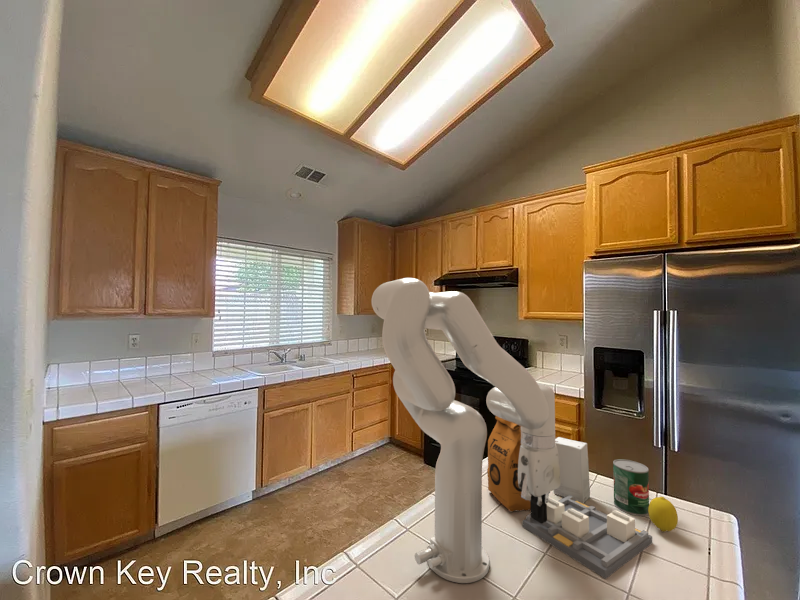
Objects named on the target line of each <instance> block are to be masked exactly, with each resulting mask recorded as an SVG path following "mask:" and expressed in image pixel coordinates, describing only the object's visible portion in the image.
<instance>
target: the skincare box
mask: <svg viewBox="0 0 800 600" xmlns="http://www.w3.org/2000/svg"><path fill="white" fill-rule="evenodd" d="M555 444H556V446H557V450H558V455H559V464H560V480H561V482H560V486H559V487H558V488H557V489H555V490H553V494H555V495H557V496H559V497H563V498H565V497H567V496H569V495H570V496H572V497H573V499H575V500H577V501H579V502H581V503H583V504H585V502H586V501H588V500H589V499H590V497H591V491H590V490H591V487H590V486H591V484H590V472H589V471H590V469H589V467H590V466H589V454H588V453H589V452H588V450H589V449H588V443H587V442H583V441H577V440H572V439H568V438H565V437H561V436H558V437H555Z"/></svg>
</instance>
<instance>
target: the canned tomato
mask: <svg viewBox="0 0 800 600" xmlns="http://www.w3.org/2000/svg"><path fill="white" fill-rule="evenodd" d="M612 462H613V463H612V464H613V465H612V466H613V467H612V469H613V505H614V506H615V507H616V508H617V509H618V510H620V511H621V512H623V513H624V512H625V513H627V514H629V515H633V516H639V517H643V516H644V517H645V516H649V512H648V508H649V504H650V488H649V487H650V486H649V485H650V478H649V477H650V476H649V467H647V466H646V465H645V464H643V463H640V462H637V461H635V460H634V461H633V460H630V459H621V458H620V459H614V460H613V461H612Z"/></svg>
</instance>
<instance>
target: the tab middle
mask: <svg viewBox="0 0 800 600" xmlns="http://www.w3.org/2000/svg"><path fill="white" fill-rule="evenodd" d="M562 529H564V530H566V531H568V532H570V533H571V534H573V535H575V536H577V537H578V538H582V537H583V536H585V535H587V534H588V533H589V516H587V515H585V514H583V513H581V512H579V511H577V510H575V509H573V508H571V509H570V508H569V509H567V511H565V512H563V513H562Z"/></svg>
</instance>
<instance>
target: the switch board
mask: <svg viewBox="0 0 800 600" xmlns="http://www.w3.org/2000/svg"><path fill="white" fill-rule="evenodd" d="M557 501H558V502H560V503H562V504H564V505H565V511H567V509H569V508H570V509H571V508H573V509H575V510H577V511H579V512H581V513H583V514H585V515H587V516H589V533H588V534H587V535H585V536H583V537H582V538H578V537H577V536H575V535H573V534H571V533H570V532H568V531H566V530H564V529H562V521H561V522H559V523H557V524H554V523H552V522H550V521H548V520H547V521H546V522H544V523H542V524H541V523H539V522H538V521H536V520H534V519H533V518H531V513H529V514H527V515H526V516H525V517H526V518H525V519H522V528H523V529H526V530H527V531H528V532H530V533H532V534H533V535H535V536H536V537H538V538H540V539H541V540H543V541H545V542H546V543H548V544H550V546H552V547H554V548H556V549H557V550H559V551H560V552H562V553H564V554H565V555H567V556H568V557H570V558H572V559H573V560H574V561H576V562H578V563H579V564H581V565H583V566H585V567H586V568H588V569H589V570H590V571H593V572H594V573H596V574H597V575H599V576H600V577H602V578H604V579H605V580H606V579H608V577H610V576H611V575H613V574H614V573H616V571H618V570H619V569H620V568H622V567H623V566H624V565H626V564H627V563H628V562H629V561H631V560H632V559H633V558H635V557H636V556H637V555H639V554H640V553H642V552H643V551H644V550H645V549H647V548H648V547H649V546H650V545H652V544H653V536H652V535H650V533H649V531H647V530H645V529H642V530H639V529H638V528H636V527H635V536H634V537H632V538H631V539H630V540H628V541H627V542H625V543H624V542H622V541H620V540H618V539H616V538H615V537H613V536H611V535H609V534H607V515H608V514H606V513H604V512H603V511H600V510H598V509H596V507H595V506H593V505H590V506H589V505H587V504H586V503H581V502H579V501H577V500H575V499H573V497H572V496H570V495H569V496H567V497H563V498H561V499H559V500H557Z"/></svg>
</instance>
